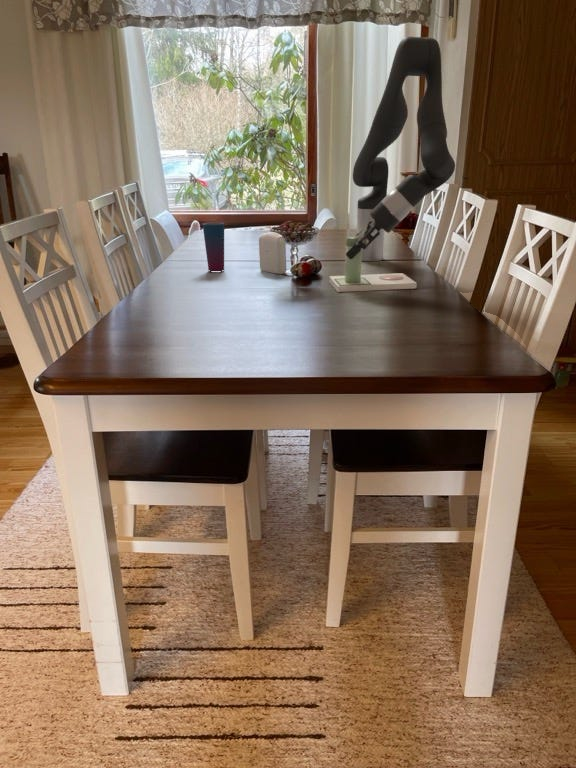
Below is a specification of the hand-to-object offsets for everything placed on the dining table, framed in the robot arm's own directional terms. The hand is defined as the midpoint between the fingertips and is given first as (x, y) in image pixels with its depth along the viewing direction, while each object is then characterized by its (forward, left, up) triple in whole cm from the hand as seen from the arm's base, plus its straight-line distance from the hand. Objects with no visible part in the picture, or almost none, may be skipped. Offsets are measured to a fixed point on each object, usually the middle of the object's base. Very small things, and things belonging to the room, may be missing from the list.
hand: (347, 254), depth 167 cm
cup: (-32, -37, -9) cm, 49 cm away
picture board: (-2, +7, -9) cm, 12 cm away
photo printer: (-27, -19, -9) cm, 34 cm away
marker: (0, +2, -8) cm, 8 cm away
